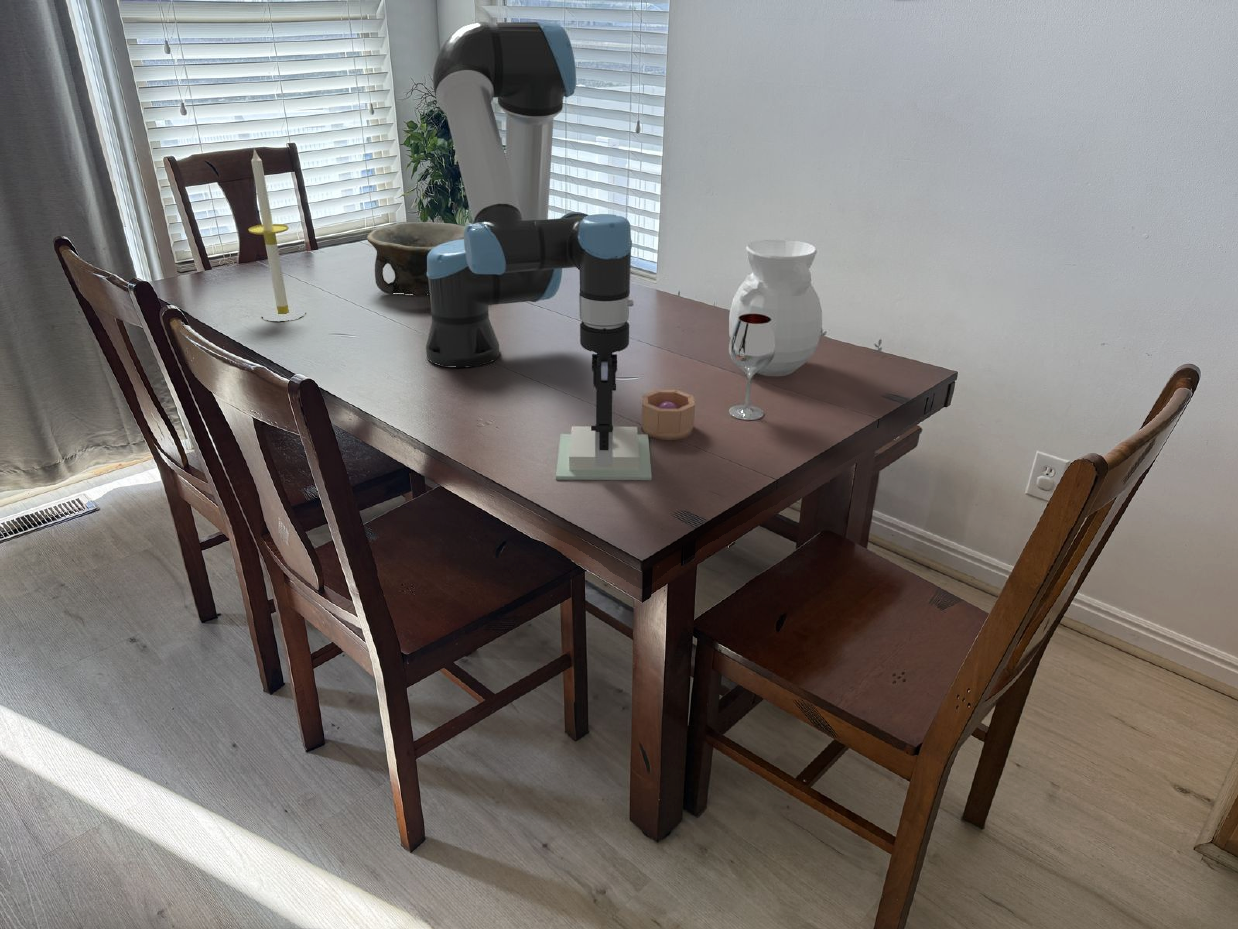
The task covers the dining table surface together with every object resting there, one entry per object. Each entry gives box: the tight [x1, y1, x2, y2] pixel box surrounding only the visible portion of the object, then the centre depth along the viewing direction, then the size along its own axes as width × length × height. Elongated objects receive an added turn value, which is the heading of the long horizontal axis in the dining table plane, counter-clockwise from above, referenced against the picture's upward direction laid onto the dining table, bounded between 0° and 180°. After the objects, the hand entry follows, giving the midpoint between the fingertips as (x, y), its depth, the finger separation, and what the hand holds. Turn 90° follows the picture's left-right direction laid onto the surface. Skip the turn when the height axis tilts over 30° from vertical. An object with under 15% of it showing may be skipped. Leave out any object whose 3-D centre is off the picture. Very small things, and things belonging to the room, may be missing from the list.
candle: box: [248, 147, 289, 314], centre depth 194 cm, size 10×10×38 cm
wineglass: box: [728, 314, 776, 421], centre depth 154 cm, size 8×8×18 cm
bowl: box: [366, 221, 467, 296], centre depth 219 cm, size 27×26×15 cm
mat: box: [555, 433, 652, 481], centre depth 142 cm, size 15×15×1 cm
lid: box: [569, 425, 639, 471], centre depth 141 cm, size 11×11×4 cm
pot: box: [640, 389, 696, 441], centre depth 150 cm, size 9×9×6 cm
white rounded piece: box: [728, 239, 823, 377], centre depth 172 cm, size 19×18×25 cm
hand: (604, 446), depth 141 cm, fingers open, 13 cm apart
